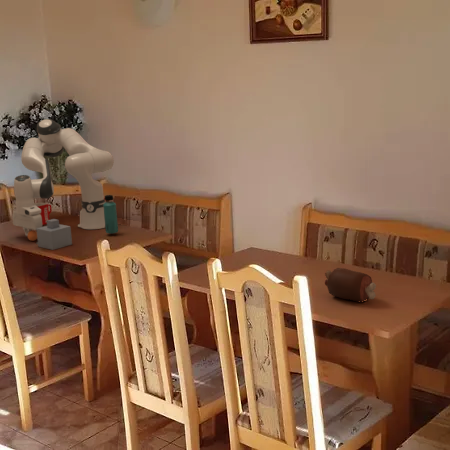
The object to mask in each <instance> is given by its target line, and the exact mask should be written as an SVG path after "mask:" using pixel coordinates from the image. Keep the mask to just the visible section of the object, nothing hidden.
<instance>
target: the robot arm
mask: <svg viewBox="0 0 450 450" xmlns="http://www.w3.org/2000/svg"><path fill="white" fill-rule="evenodd" d="M36 132H37V134H38V138H37V137H30V138H28V139H27V140H26V141H25V142H24V145H23V148H22V152H21V159H20V160H21V164H22V166H23V167H25V168H26V169H27V170H29V171H32V172H37V173H41V174H42V178H38V179H37V178H36V179H34V178H33V179H31V176H30V175H27V174H21V175H18V176H16V177H15V178H14V180H13V181H14V182H13V194H14V197H15V207H14V208H13V211H12V225H13V226H15V227H16V226H17V227H20V228H22V229H23V232H24V236H25V237H27V238H28V236H27V235H28V233H29V232H30V231H37V230H36V228H40V227H43V225H42V217H41V215H40V213H41V209H40V208H38V207H37V206H36V205H35V200H36V199H44V200H48V199H50V198H52V196H53V195H54V192H55V186H54V183H53V179H52V172H51V167H50V162H49V160H48V159H47V158H45V157H48V158H57V157H59V156H61V155H62V154H63V152H64V150H65V152H67V154H68V155H69V156H67V157H66V158H65V161H64V167H65V170H66V172H67V173H68V174H69V175H71V176H72V177H73V178H74V179H76V181H77V182H78V184H79V186H80V187H79V188H80V193H81V208H82V209H81V210H80V211H79V224H77V227H78V228H81V229H84V230H98V229H99V230H100V229H105V218H104V207H103V204H104V203H105V202H107V200H105V196H104V186H103V184H102V182H100V181H98V180H96V179H94V178H93V176H92V175H93V174H98V173H103V172H106V171H109V170H111V169H112V168H113V166H114V161H115V160H114V156H113V155H112V153H110V151H107V150H104V149H103V150H102V149H100V148H97V147H95V146H92V145H91V144H89V143H88V142H87V141H86V140H85V139H84V138H83V137H82V136H81V134H80V133H78V131H76V130H74V129H73V128H71V127H66V128H62V126H61V124H59V123H57V122H56V121H55V120H53V119H50V118H44V119H43V118H42V119H41V120H39V121H38V122H37V124H36Z"/></svg>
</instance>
